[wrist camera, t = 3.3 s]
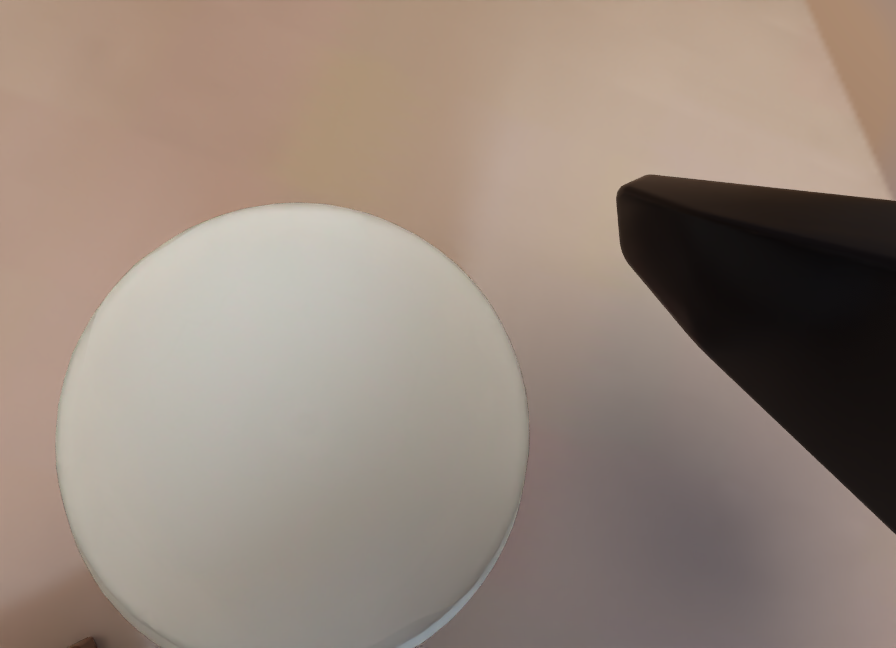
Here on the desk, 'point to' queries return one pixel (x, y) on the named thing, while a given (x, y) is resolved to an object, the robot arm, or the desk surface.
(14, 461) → the desk surface
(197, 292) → the pill bottle
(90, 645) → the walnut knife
